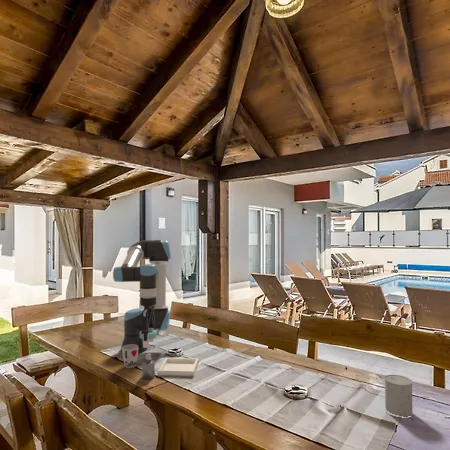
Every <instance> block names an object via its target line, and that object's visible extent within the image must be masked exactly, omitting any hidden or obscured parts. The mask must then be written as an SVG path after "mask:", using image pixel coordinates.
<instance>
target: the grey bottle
mask: <svg viewBox="0 0 450 450" xmlns="http://www.w3.org/2000/svg"><path fill="white" fill-rule="evenodd" d="M155 364H156V362H155V360H154V359H152V353H151V352H147V353H145V360H143V361H141V379H142V380H147V381H148V380H153V379H154V378H155V377H156V376H155V375H156V374H155V373H156V369H155V368H156V367H155V366H156V365H155Z"/></svg>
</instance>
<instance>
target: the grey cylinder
mask: <svg viewBox="0 0 450 450" xmlns="http://www.w3.org/2000/svg"><path fill="white" fill-rule="evenodd" d="M384 394H385V395H384V399H385V400H384V405H385V406H384V409H385V408H386V410H387V411H389V412H390V413H392V414H395V415H399V416H403V417H408V416H412V414H413V381H412V379H410V378H409V377H406V376H403V375H398V374H388V375H385V376H384ZM413 415H414V414H413ZM412 417H413V416H412Z"/></svg>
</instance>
